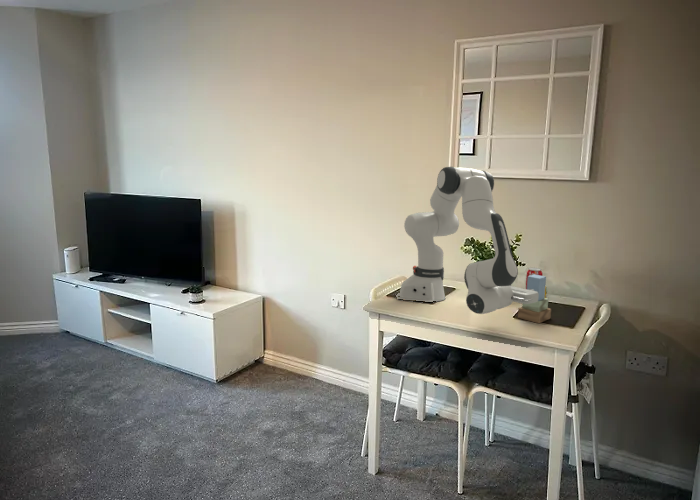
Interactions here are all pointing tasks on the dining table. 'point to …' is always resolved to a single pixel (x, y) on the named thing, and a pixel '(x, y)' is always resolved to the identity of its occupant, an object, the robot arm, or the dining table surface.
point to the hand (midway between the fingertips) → (520, 288)
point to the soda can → (533, 271)
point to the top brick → (537, 285)
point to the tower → (535, 311)
